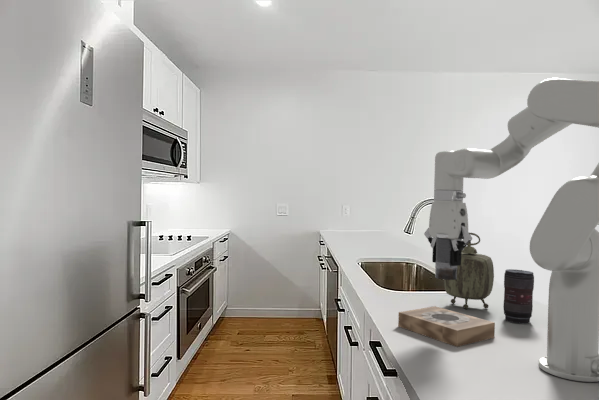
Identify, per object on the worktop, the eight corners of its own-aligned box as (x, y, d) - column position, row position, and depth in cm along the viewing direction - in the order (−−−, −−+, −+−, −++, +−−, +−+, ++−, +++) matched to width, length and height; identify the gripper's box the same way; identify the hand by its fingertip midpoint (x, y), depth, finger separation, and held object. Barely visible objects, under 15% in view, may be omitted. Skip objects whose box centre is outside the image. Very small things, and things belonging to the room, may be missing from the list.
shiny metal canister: (461, 278, 127) (463, 234, 127) (447, 280, 124) (448, 235, 123) (444, 275, 132) (445, 232, 131) (430, 277, 129) (431, 233, 128)
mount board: (494, 337, 124) (494, 322, 123) (456, 346, 115) (457, 330, 115) (434, 319, 140) (435, 306, 140) (398, 326, 132) (398, 312, 132)
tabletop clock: (493, 308, 156) (495, 233, 156) (487, 314, 148) (489, 235, 148) (449, 302, 164) (450, 230, 164) (441, 307, 156) (443, 232, 156)
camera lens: (536, 325, 136) (537, 274, 136) (506, 323, 138) (507, 272, 138) (528, 318, 144) (529, 269, 144) (500, 316, 146) (501, 268, 146)
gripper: (484, 198, 122) (482, 267, 122) (433, 196, 137) (431, 258, 137) (466, 197, 118) (463, 269, 118) (414, 196, 132) (413, 260, 133)
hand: (446, 263), depth 128 cm, fingers closed on shiny metal canister, 5 cm apart
